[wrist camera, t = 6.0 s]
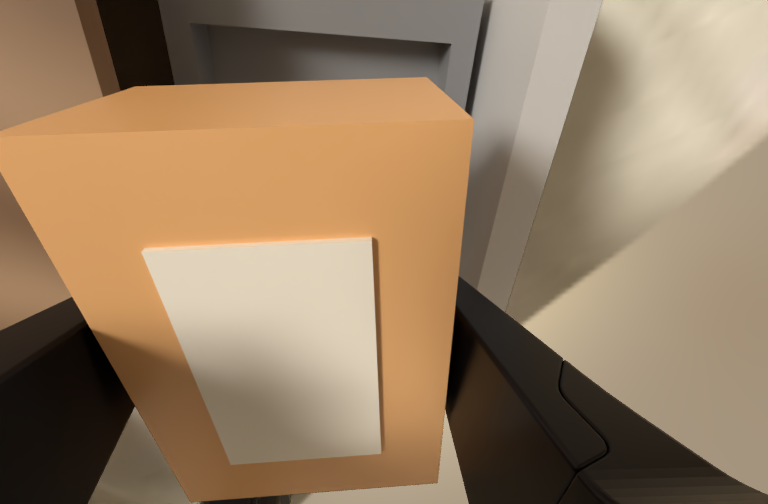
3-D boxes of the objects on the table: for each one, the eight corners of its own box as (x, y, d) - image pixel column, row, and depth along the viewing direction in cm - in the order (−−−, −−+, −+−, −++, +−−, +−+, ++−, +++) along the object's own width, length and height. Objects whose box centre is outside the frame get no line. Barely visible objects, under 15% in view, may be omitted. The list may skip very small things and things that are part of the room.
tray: (448, 293, 21) (480, 391, 15) (236, 289, 20) (192, 392, 14) (520, -57, 13) (635, -105, 8) (173, -94, 12) (26, -179, 7)
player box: (233, 287, 20) (189, 387, 15) (4, 283, 19) (-133, 389, 14) (169, -93, 12) (22, -176, 7) (-229, -135, 11) (-772, -272, 6)
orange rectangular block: (416, 363, 12) (438, 487, 9) (233, 375, 11) (189, 507, 8) (426, 76, 7) (477, 121, 4) (135, 86, 7) (-27, 139, 4)
